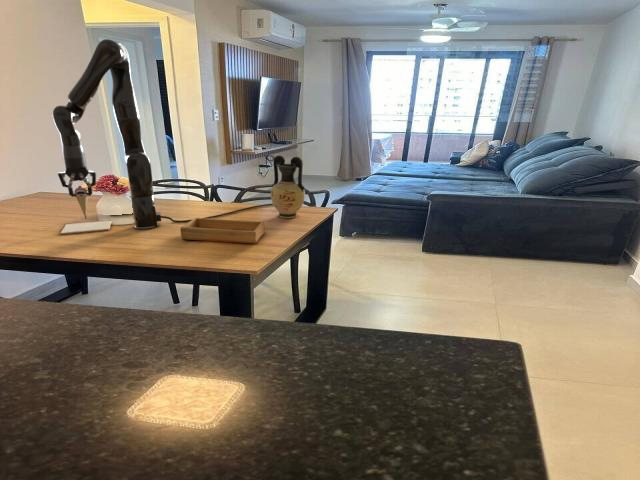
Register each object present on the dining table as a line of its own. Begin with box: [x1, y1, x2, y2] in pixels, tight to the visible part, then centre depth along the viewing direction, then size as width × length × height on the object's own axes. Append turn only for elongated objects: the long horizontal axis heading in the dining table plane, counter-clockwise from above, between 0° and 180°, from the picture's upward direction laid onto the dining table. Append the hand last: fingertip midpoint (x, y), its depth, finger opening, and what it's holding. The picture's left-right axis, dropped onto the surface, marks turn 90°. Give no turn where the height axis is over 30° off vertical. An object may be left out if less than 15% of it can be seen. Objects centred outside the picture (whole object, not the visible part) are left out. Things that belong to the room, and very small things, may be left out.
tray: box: [179, 217, 265, 245], centre depth 159 cm, size 31×15×6 cm, turn 85°
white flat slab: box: [59, 220, 112, 236], centre depth 169 cm, size 18×16×1 cm
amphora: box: [270, 154, 306, 219], centre depth 189 cm, size 18×17×30 cm
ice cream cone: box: [73, 185, 89, 219], centre depth 165 cm, size 6×6×15 cm
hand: (81, 195), depth 164 cm, fingers closed on ice cream cone, 5 cm apart
